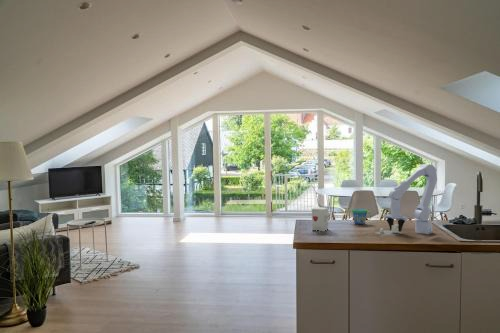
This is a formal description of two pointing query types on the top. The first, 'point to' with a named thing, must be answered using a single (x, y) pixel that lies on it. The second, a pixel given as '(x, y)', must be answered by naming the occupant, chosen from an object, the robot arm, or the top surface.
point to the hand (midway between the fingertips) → (395, 230)
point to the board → (387, 232)
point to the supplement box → (319, 218)
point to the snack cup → (359, 215)
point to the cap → (395, 228)
